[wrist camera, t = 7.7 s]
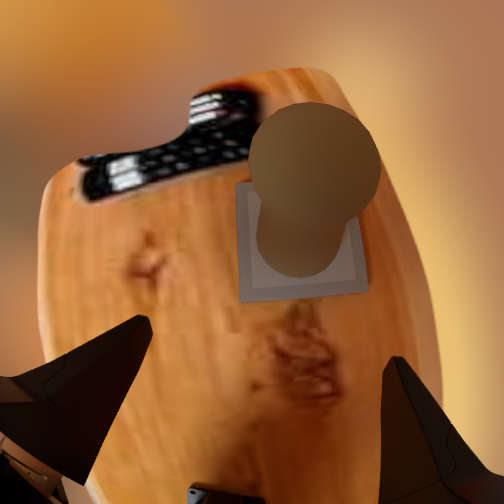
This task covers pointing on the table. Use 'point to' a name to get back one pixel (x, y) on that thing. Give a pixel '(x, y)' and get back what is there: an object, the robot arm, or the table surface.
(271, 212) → the cork
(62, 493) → the robot arm
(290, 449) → the table surface
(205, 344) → the table surface
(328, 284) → the coaster
